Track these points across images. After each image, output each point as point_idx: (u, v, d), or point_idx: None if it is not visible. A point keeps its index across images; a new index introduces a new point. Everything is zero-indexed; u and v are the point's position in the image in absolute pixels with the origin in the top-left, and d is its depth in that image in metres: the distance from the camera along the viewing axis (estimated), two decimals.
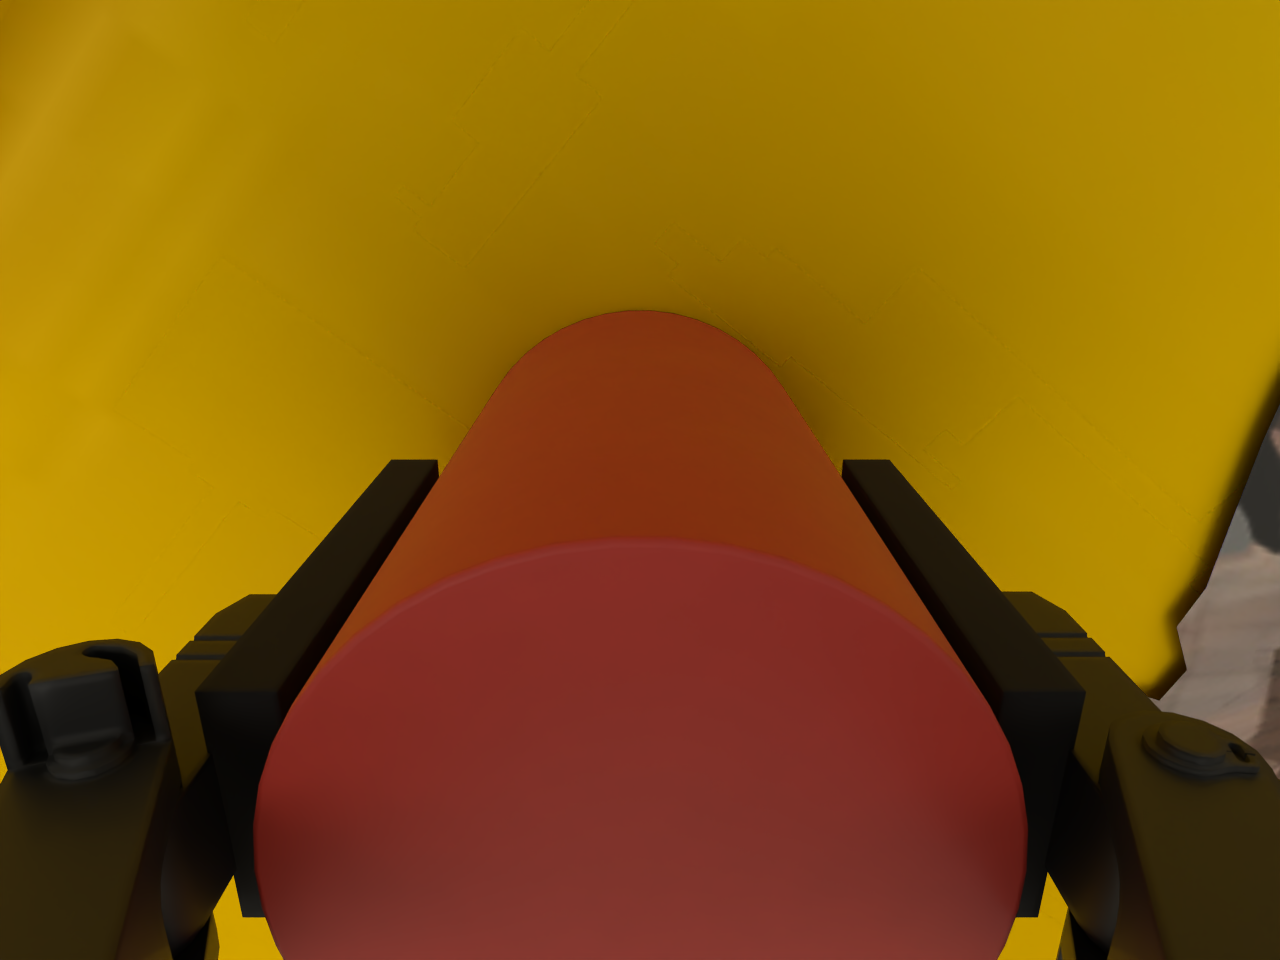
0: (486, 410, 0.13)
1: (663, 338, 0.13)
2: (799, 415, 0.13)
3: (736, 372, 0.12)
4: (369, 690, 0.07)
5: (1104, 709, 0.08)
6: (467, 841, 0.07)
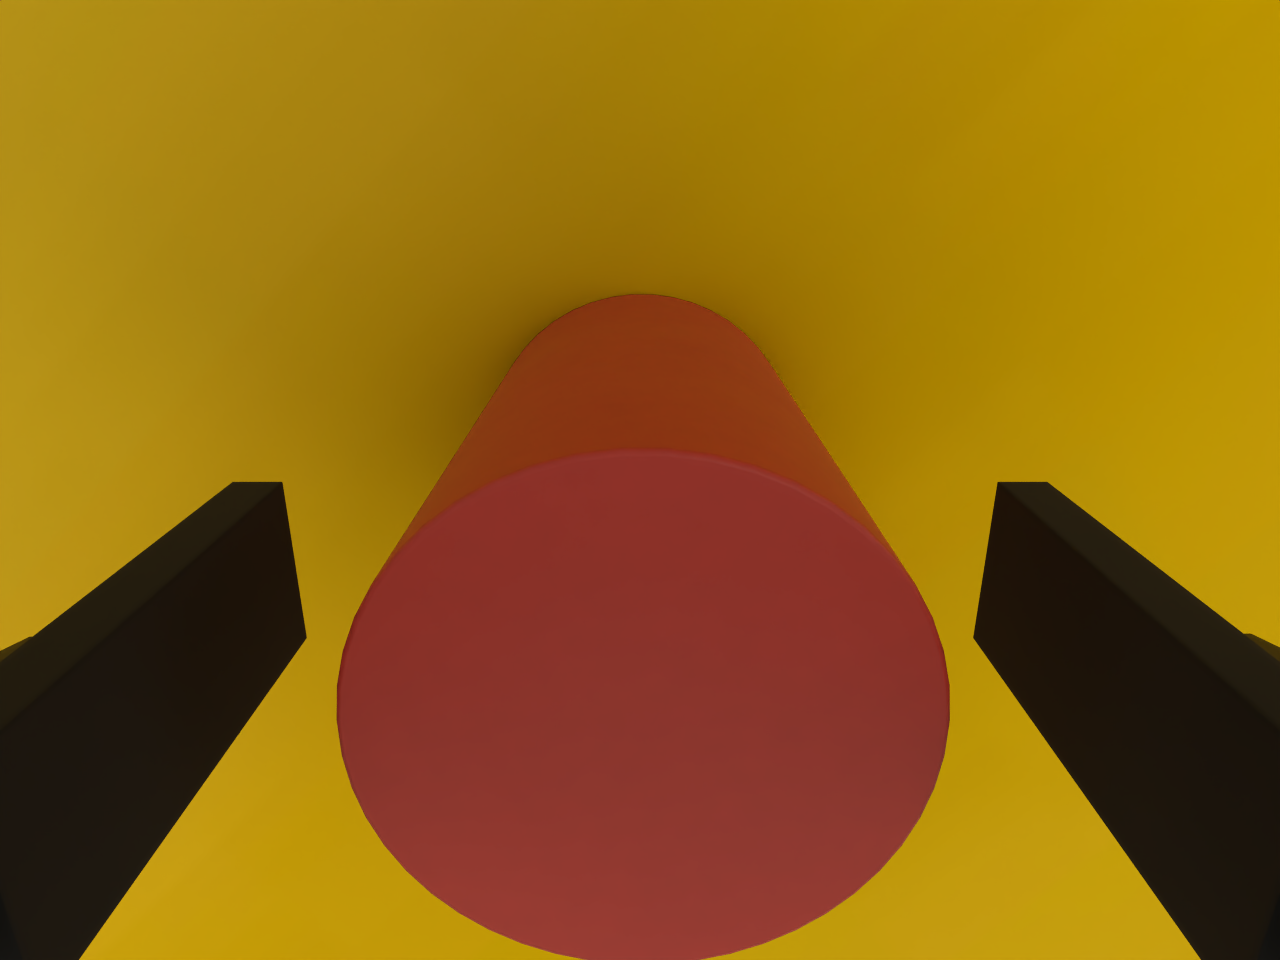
0: (507, 378, 0.15)
1: (662, 316, 0.15)
2: (781, 383, 0.15)
3: (725, 344, 0.14)
4: (434, 572, 0.08)
5: None
6: (507, 697, 0.09)
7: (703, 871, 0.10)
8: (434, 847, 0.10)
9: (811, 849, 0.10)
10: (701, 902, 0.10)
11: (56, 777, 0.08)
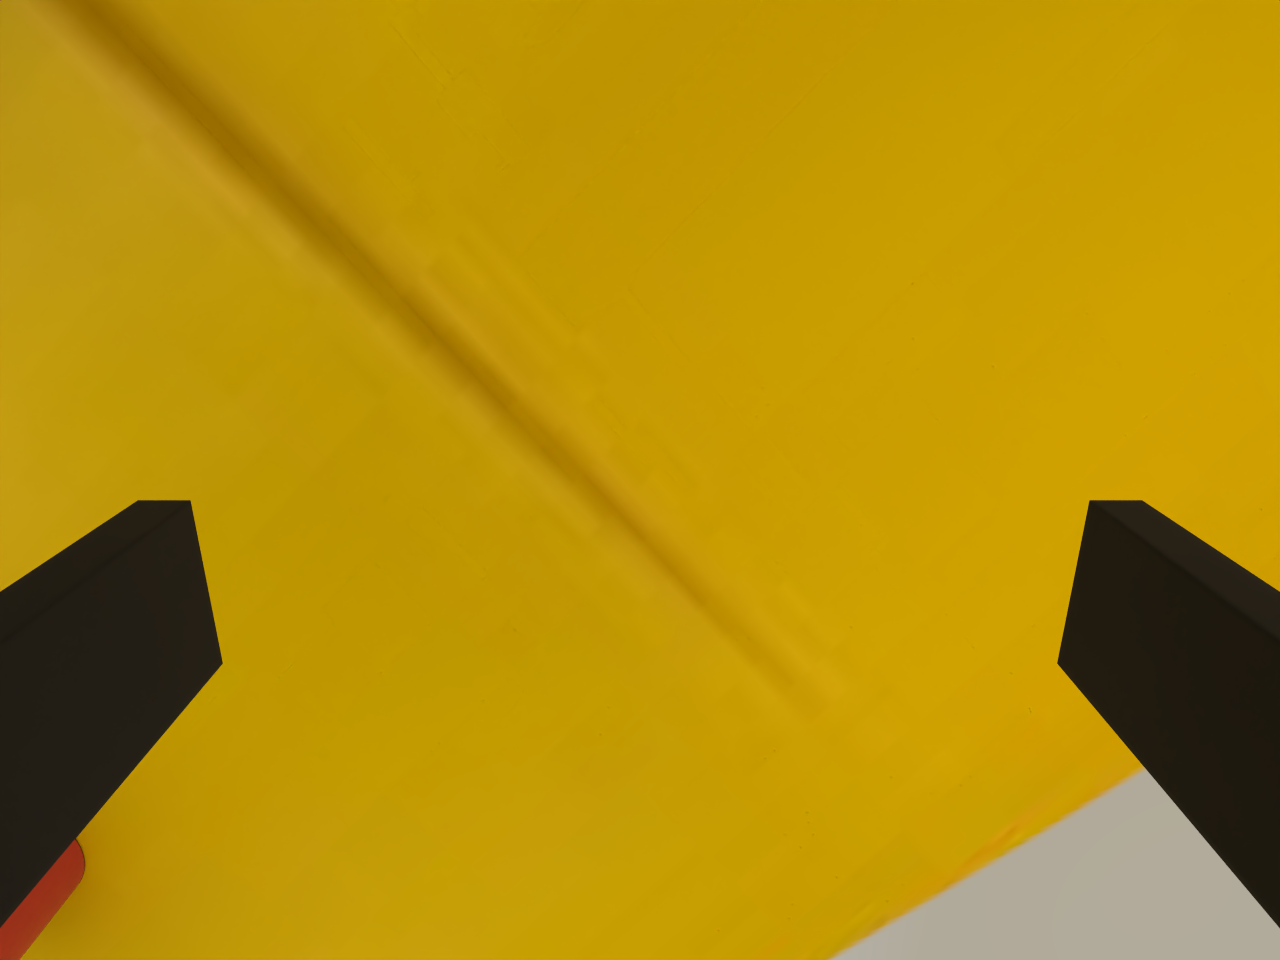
0: None
1: None
2: None
3: None
4: None
5: None
6: None
7: None
8: None
9: None
10: None
11: None
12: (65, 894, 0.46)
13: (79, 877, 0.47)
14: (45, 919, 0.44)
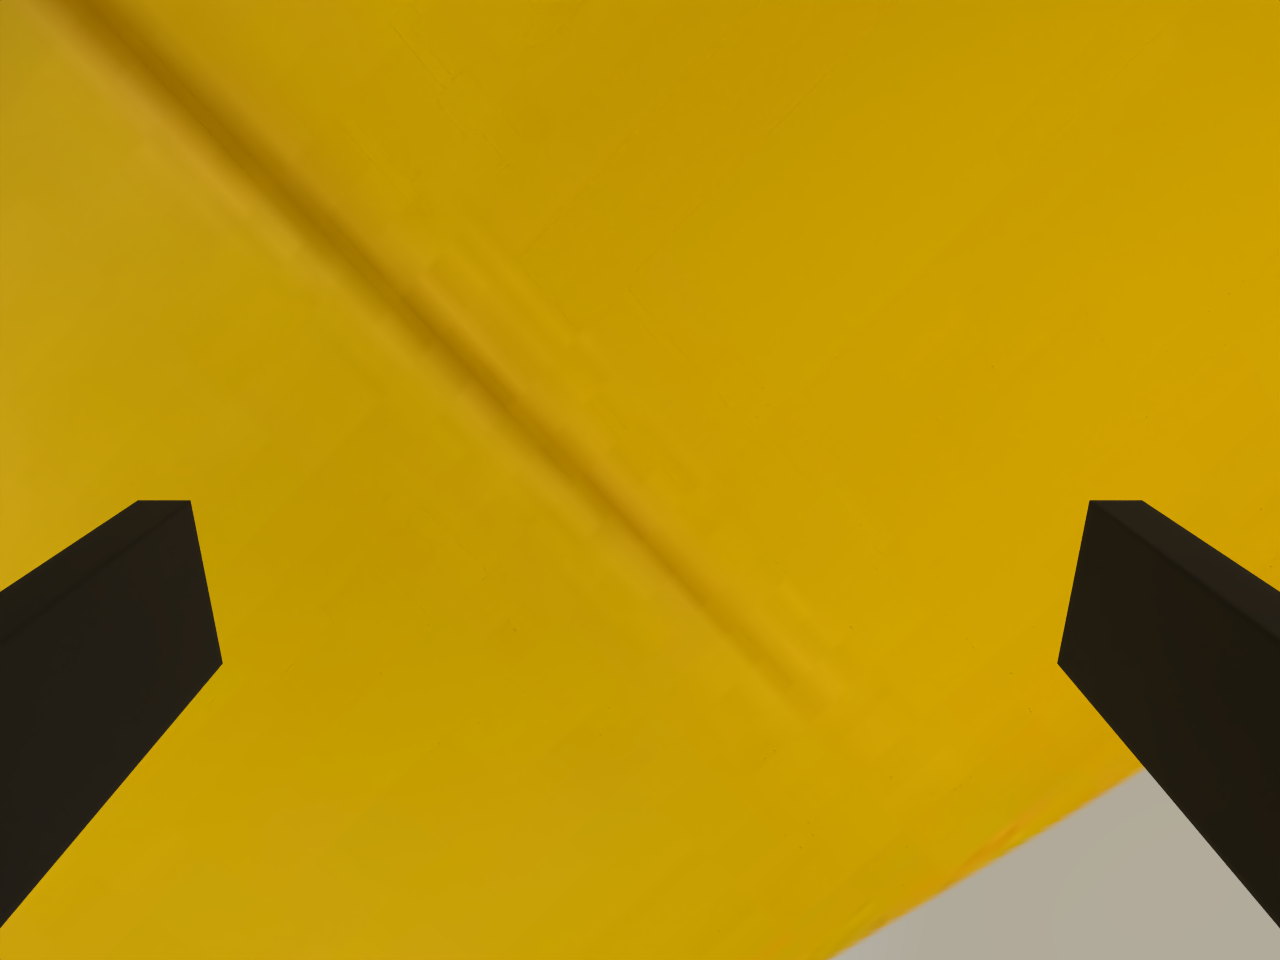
0: None
1: None
2: None
3: None
4: None
5: None
6: None
7: None
8: None
9: None
10: None
11: None
12: None
13: None
14: None
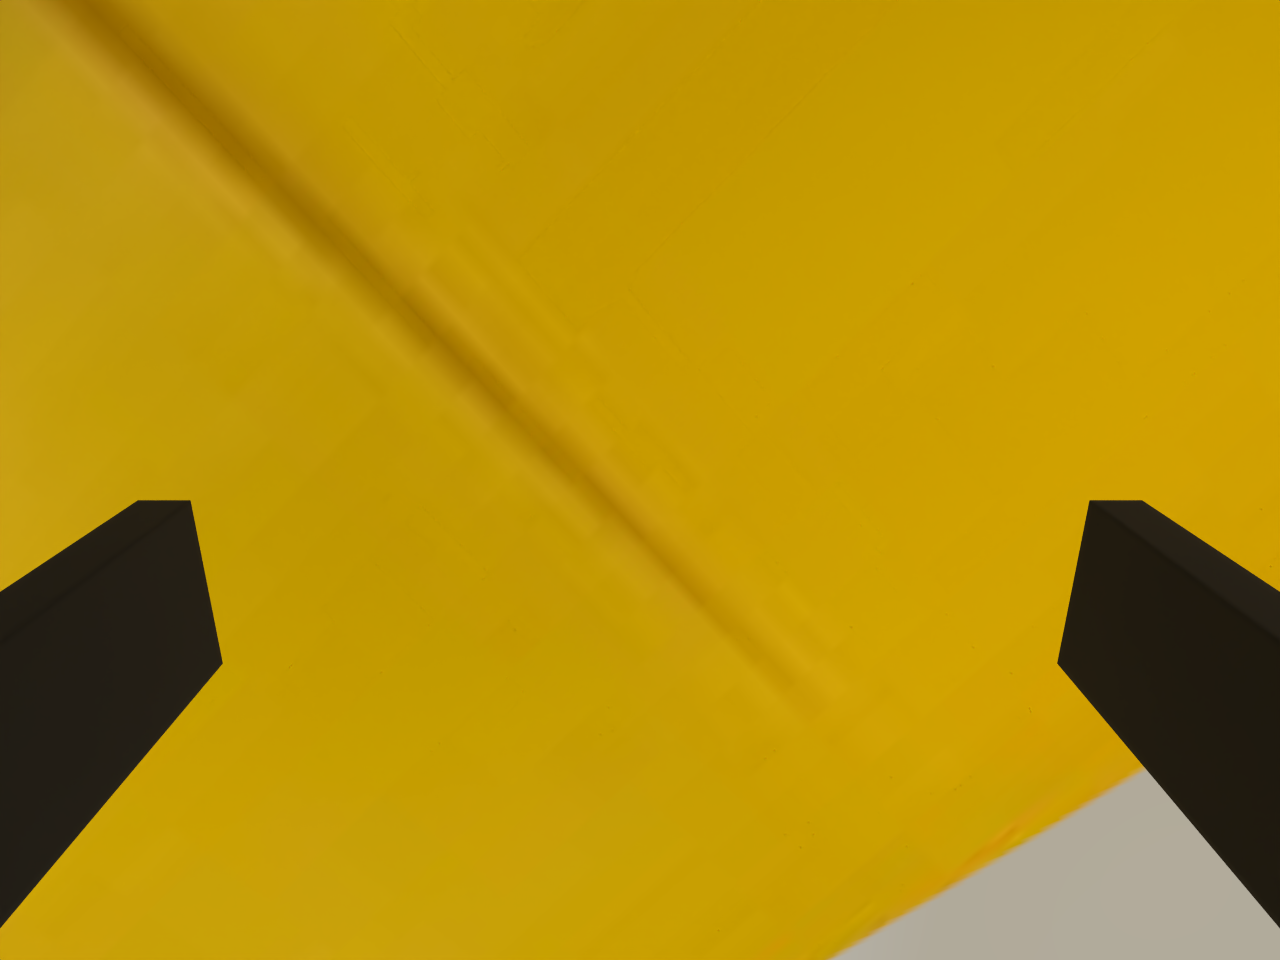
0: None
1: None
2: None
3: None
4: None
5: None
6: None
7: None
8: None
9: None
10: None
11: None
12: None
13: None
14: None
